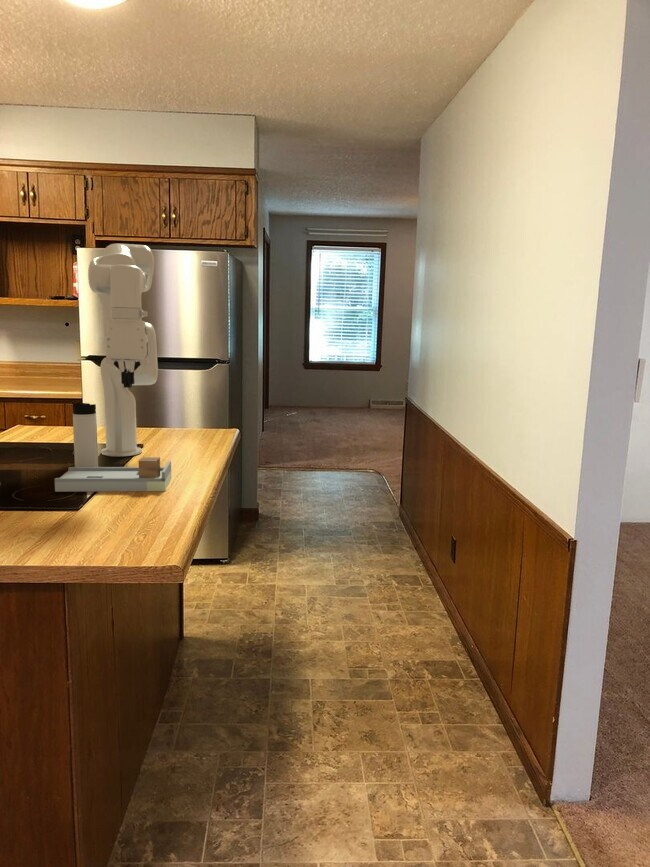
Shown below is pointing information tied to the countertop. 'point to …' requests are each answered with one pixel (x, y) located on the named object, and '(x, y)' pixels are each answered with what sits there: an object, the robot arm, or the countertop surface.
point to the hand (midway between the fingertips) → (128, 386)
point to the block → (149, 467)
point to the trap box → (111, 479)
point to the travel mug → (85, 435)
